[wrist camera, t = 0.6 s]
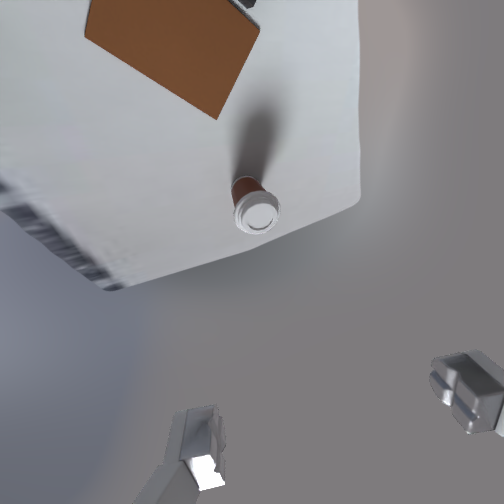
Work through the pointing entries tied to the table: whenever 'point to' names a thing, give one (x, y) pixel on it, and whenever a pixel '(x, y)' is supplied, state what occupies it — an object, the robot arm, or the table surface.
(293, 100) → the table surface
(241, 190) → the coffee cup
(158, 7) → the desk pad
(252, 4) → the frame
